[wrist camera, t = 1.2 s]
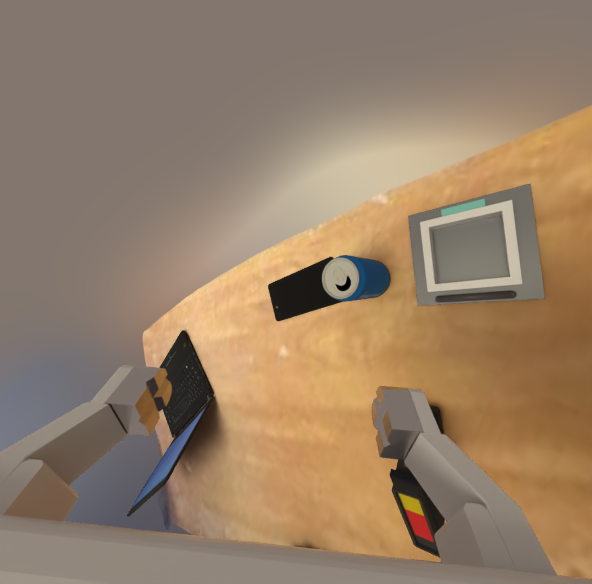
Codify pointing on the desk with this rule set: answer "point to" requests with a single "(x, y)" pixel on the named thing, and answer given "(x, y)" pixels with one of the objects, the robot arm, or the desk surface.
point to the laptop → (179, 410)
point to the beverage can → (355, 278)
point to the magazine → (417, 504)
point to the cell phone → (300, 292)
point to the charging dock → (477, 250)
